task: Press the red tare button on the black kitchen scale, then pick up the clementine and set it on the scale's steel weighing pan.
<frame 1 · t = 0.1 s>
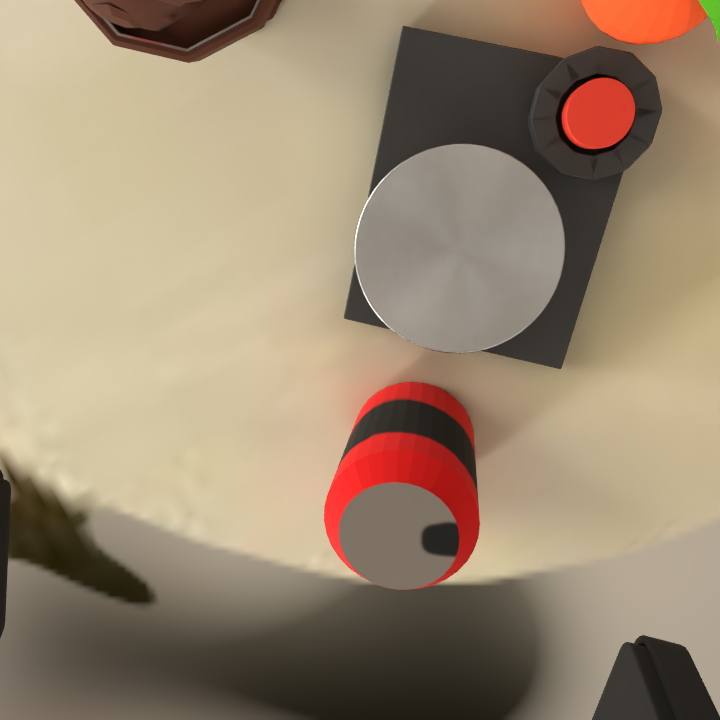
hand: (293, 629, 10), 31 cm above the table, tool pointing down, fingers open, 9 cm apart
soda can: (413, 435, 42), on the table
scale: (485, 205, 38), on the table
tare button: (597, 114, 32), point 3 cm above the table, slide at 0.1 cm
pan: (457, 251, 36), resting on scale
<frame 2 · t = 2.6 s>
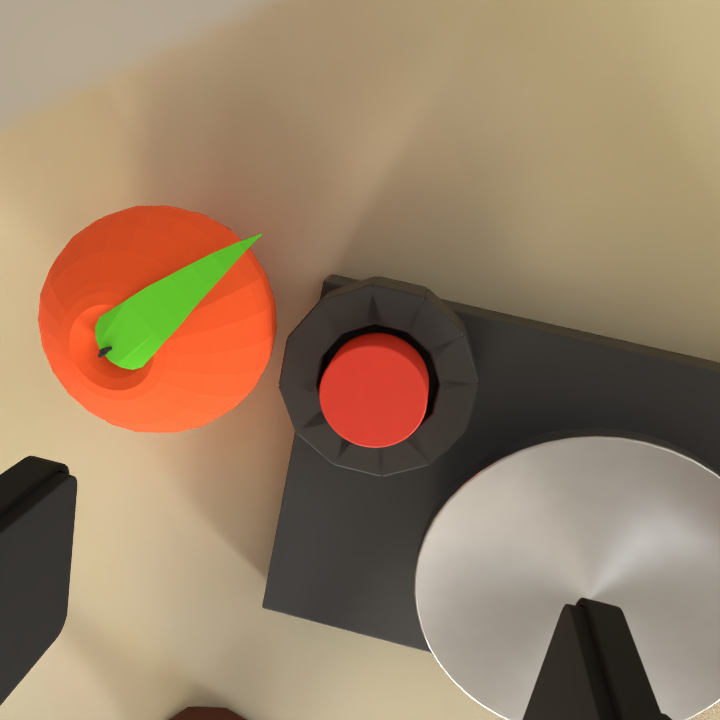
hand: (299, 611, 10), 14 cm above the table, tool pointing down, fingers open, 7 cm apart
clementine: (216, 288, 24), on the table
scale: (509, 494, 24), on the table
tare button: (375, 389, 20), point 3 cm above the table, slide at 0.1 cm
pan: (584, 584, 22), resting on scale
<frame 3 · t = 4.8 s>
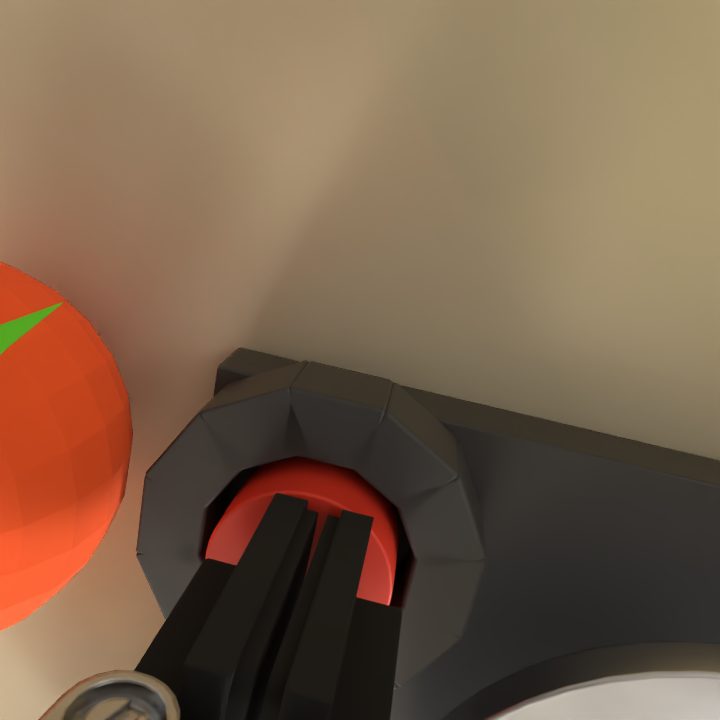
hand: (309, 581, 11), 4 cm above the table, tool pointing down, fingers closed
clementine: (59, 366, 15), on the table
scale: (530, 688, 15), on the table
tare button: (306, 552, 12), point 3 cm above the table, slide at -0.4 cm, touching gripper
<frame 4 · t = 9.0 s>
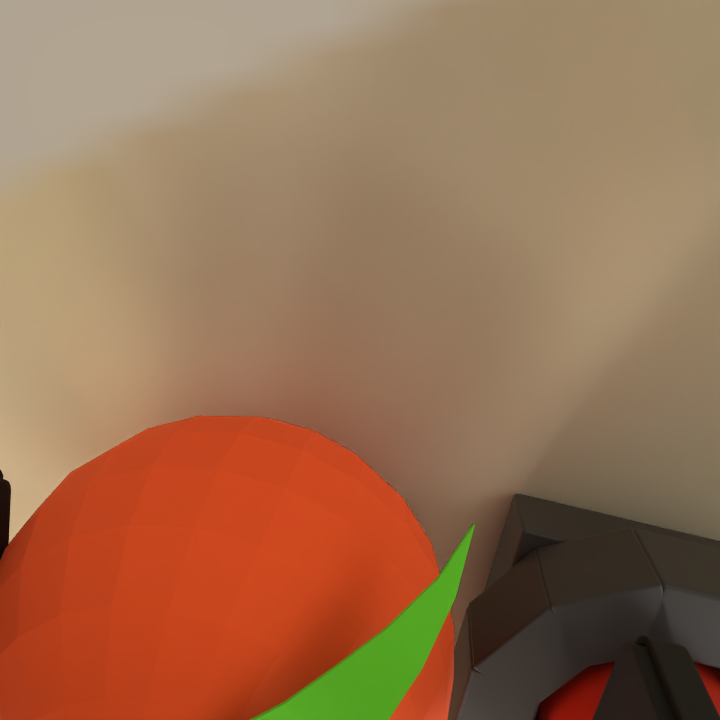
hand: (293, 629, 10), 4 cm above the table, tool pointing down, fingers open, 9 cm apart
clementine: (300, 505, 13), on the table
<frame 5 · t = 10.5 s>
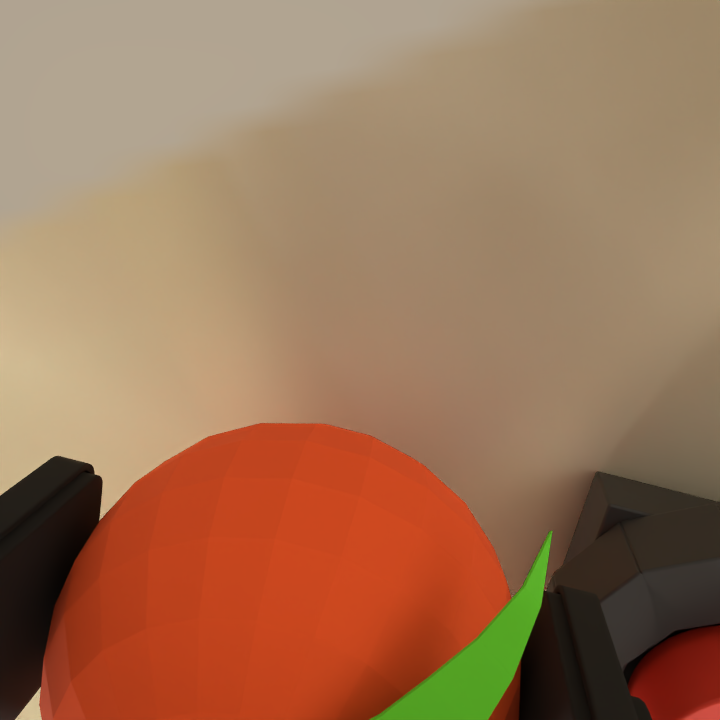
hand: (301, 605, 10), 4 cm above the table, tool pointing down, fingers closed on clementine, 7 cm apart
clementine: (347, 508, 13), point 1 cm above the table, touching gripper
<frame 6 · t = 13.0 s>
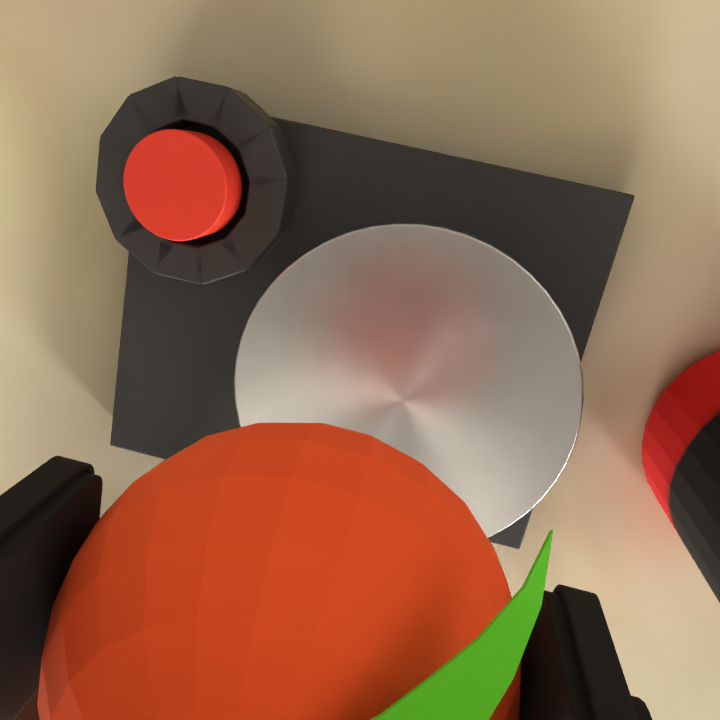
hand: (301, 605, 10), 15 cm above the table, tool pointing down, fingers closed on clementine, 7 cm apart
ice cream bowl: (87, 613, 30), on the table
clementine: (347, 508, 13), point 12 cm above the table, touching gripper
scale: (349, 324, 24), on the table
tare button: (184, 185, 20), point 3 cm above the table, slide at 0.1 cm
pan: (404, 392, 22), resting on scale
when the fingers open (7 cm above the table, at t = 15.3 s): clementine stays where it is, resting on pan.
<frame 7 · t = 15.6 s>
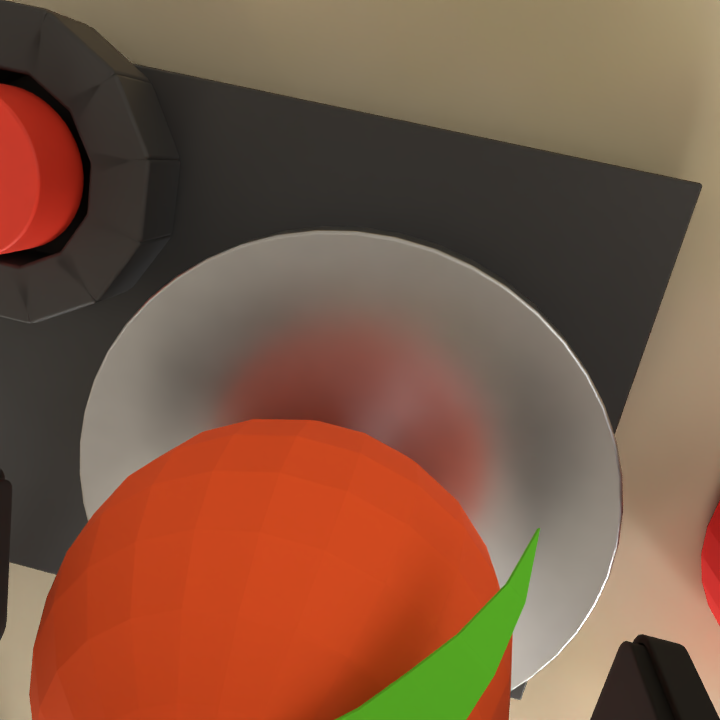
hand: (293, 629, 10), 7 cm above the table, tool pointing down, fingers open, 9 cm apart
clementine: (345, 507, 13), point 4 cm above the table, touching pan
scale: (273, 375, 17), on the table
pan: (342, 489, 14), resting on scale
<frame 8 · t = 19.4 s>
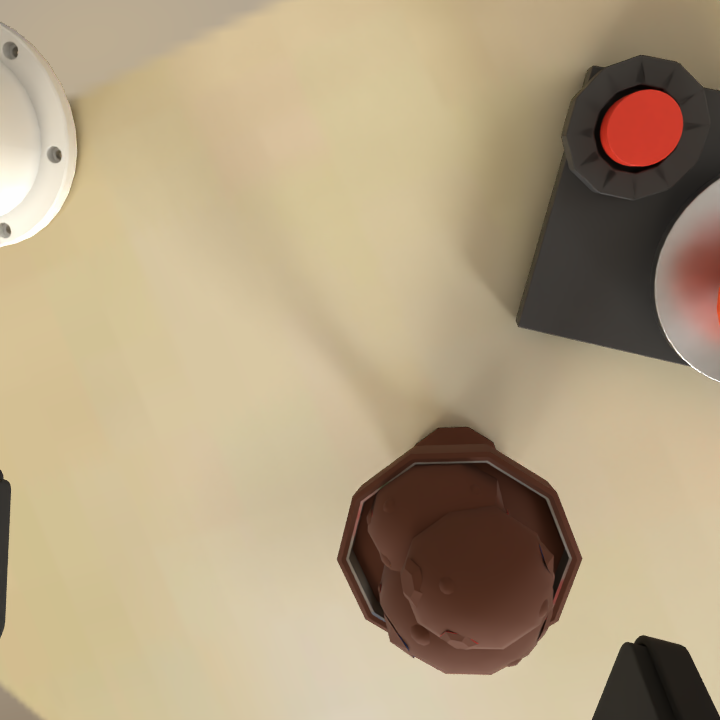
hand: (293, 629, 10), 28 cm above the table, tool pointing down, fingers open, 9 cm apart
ice cream bowl: (455, 467, 40), on the table
scale: (704, 235, 34), on the table
tare button: (640, 129, 30), point 3 cm above the table, slide at 0.1 cm
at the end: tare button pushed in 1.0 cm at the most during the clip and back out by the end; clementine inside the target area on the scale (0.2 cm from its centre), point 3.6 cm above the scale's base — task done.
